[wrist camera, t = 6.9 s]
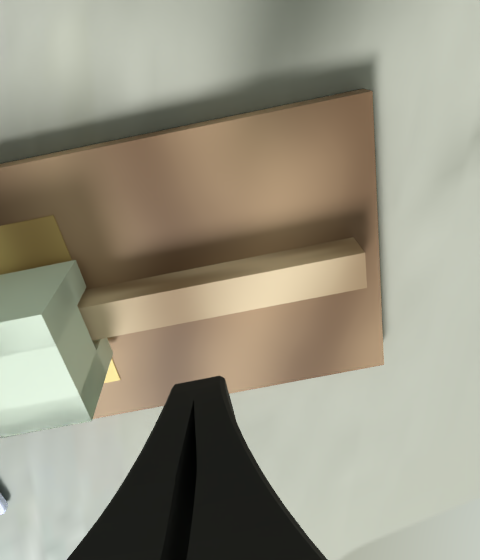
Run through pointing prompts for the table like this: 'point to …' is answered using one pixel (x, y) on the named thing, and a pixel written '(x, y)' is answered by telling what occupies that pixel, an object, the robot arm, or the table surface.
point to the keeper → (47, 351)
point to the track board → (214, 246)
